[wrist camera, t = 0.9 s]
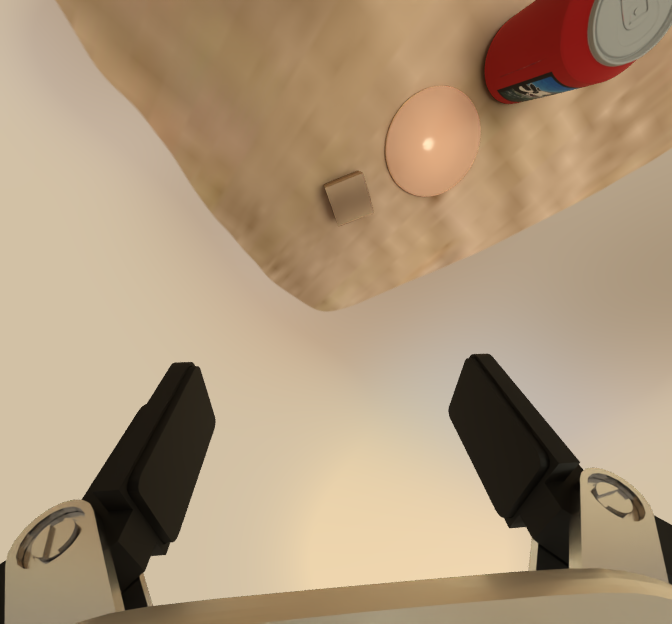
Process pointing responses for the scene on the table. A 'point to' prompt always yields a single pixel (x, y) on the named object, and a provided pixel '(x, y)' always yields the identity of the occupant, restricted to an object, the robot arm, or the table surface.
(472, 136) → the coaster
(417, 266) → the table surface
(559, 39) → the beverage can
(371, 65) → the table surface
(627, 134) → the table surface
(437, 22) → the table surface
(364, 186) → the walnut block
